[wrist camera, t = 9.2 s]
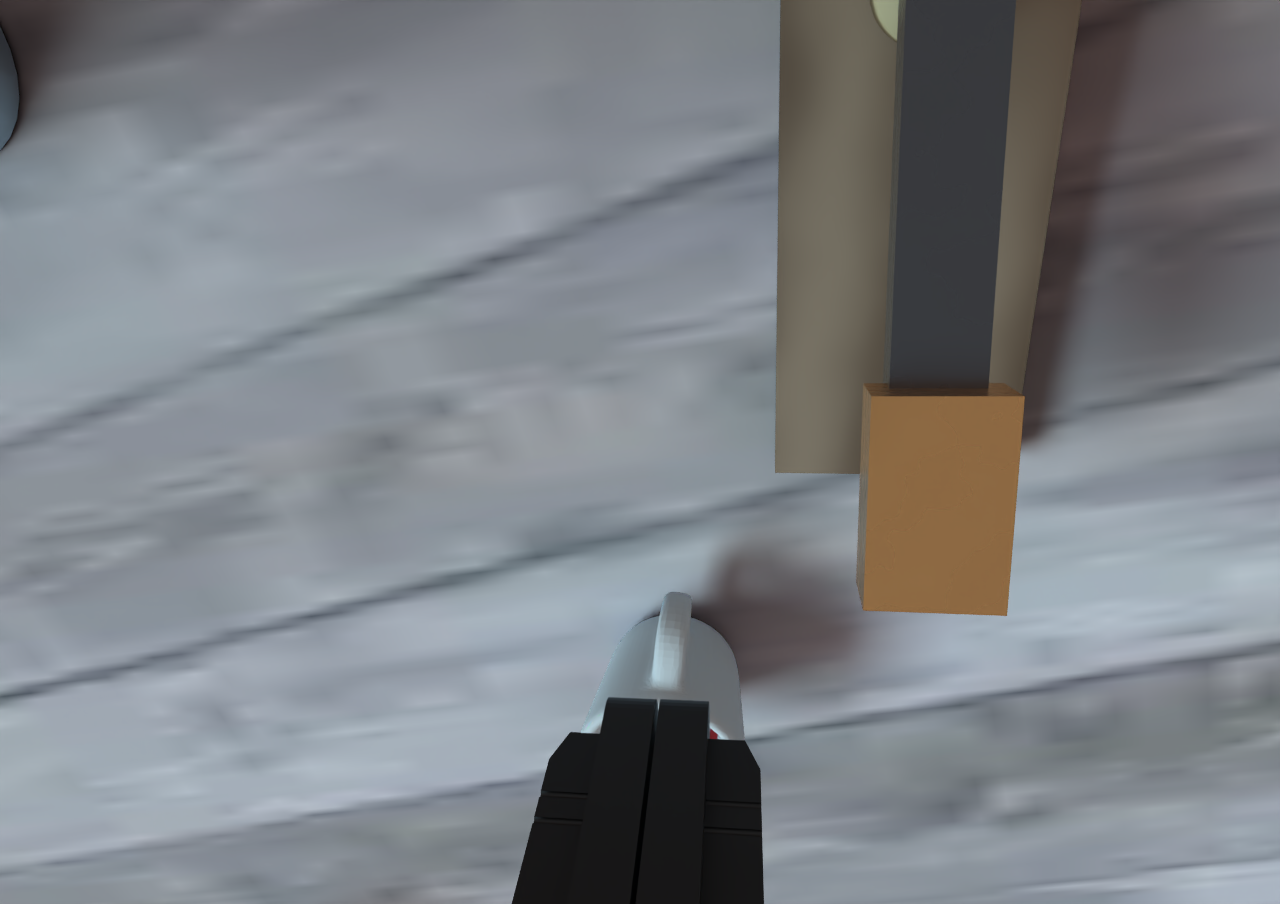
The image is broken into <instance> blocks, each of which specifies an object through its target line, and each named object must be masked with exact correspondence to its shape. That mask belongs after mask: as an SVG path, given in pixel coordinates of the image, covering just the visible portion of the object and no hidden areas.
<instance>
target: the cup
mask: <svg viewBox="0 0 1280 904" xmlns="http://www.w3.org/2000/svg"><path fill="white" fill-rule="evenodd" d="M691 609H692V599H691V597H690V596H689V595H688V594H686V593H680V592H670V593H668V594H666V596H665V597H664V600H663V603H662V607H661V612H660V616H656V617H653V618H650V619H647V620H644V621H643V622H641V623H639V624H637V625H636V626H634V627H633V628H632V629H631V630H630V631H628V632H627V633H626V635H625V636H624V637H623V638H622V640H621V641H620V643H619V644H618V646H617V648H616V650H615V652H614V654H613V656H612V658H611V660H610V663H609V665H608V668H607V670H606V672H605V675H604V677H603V680H602V682H601V684H600V687H599V689H598V692H597V694H596V696H595V699H594V701H593V704H592V706H591V708H590V711H589V713H588V716H587V718H586V720H585V723H584V725H583V728H582V730H581V733H597V734H600V730H601V725H602V720H603V715H604V710H605V705H606V701H607V699H608V697H619V698H641V699H657V702H658V710H659V703H660V700H661V699H670V700H693V701H709V706H710V739H726V740H745V737H744V726H743V715H742V704H741V693H740V682H739V674H738V668H737V663H736V660H735V657H734V654H733V652H732V650H731V648H730V646H729V645H728V643H727V642H726V640H725V639H724V638H723V637H722V636H721V635H720V634H719V633H718V632H717V631H716V630H715V629H713V628H712V627H711V626H709V625H707V624H705V623H704V622H702V621H699V620H697V619H694V618H691Z"/></svg>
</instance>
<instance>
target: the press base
mask: <svg viewBox="0 0 1280 904" xmlns="http://www.w3.org/2000/svg"><path fill="white" fill-rule="evenodd" d="M898 4H899V0H781V8H780V93H779V177H778V262H777V346H776V430H775V473H838V474H860V462H861V434H862V406H863V383H883V368H884V343H885V319H886V295H887V271H888V246H889V222H890V198H891V174H892V149H893V125H894V101H895V76H896V52H897V28H898ZM1081 4H1082V0H1016V10H1015V24H1014V38H1013V52H1012V66H1011V80H1010V94H1009V108H1008V122H1007V136H1006V150H1005V164H1004V178H1003V192H1002V206H1001V220H1000V234H999V248H998V262H997V276H996V290H995V304H994V318H993V332H992V346H991V360H990V374H989V383H1005V384H1006V385H1008V386H1009V387H1011V388H1012V389H1014V390H1016V391H1017V392H1019V393H1020V394H1022V391H1023V385H1024V378H1025V372H1026V365H1027V359H1028V352H1029V345H1030V339H1031V332H1032V326H1033V319H1034V313H1035V306H1036V299H1037V293H1038V286H1039V280H1040V273H1041V267H1042V260H1043V253H1044V247H1045V240H1046V234H1047V227H1048V221H1049V214H1050V207H1051V201H1052V194H1053V188H1054V181H1055V175H1056V168H1057V161H1058V155H1059V148H1060V142H1061V135H1062V129H1063V122H1064V115H1065V109H1066V102H1067V96H1068V89H1069V83H1070V76H1071V69H1072V63H1073V56H1074V50H1075V43H1076V37H1077V30H1078V23H1079V17H1080V10H1081Z"/></svg>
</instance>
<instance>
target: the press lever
mask: <svg viewBox="0 0 1280 904" xmlns="http://www.w3.org/2000/svg"><path fill="white" fill-rule="evenodd" d="M1015 10H1016V0H899V4H898V28H897V52H896V76H895V101H894V125H893V149H892V174H891V198H890V222H889V246H888V271H887V295H886V319H885V343H884V368H883V383H863V406H862V434H861V462H860V490H859V518H858V546H857V574H856V583H857V587H858V591H859V595H860V599H861V604H862V608H863V610H865V611H892V612H919V613H946V614H973V615H1000V616H1007V608H1008V596H1009V584H1010V572H1011V560H1012V547H1013V535H1014V523H1015V511H1016V499H1017V486H1018V474H1019V462H1020V450H1021V437H1022V425H1023V413H1024V401H1025V396H1023V395H1022V394H1020V393H1019V392H1017V391H1016V390H1014V389H1012V388H1011V387H1009V386H1008V385H1006V384H1005V383H989V374H990V360H991V346H992V332H993V318H994V304H995V290H996V276H997V262H998V248H999V234H1000V220H1001V206H1002V192H1003V178H1004V164H1005V150H1006V136H1007V122H1008V108H1009V94H1010V80H1011V66H1012V52H1013V38H1014V24H1015Z"/></svg>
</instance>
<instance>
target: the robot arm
mask: <svg viewBox="0 0 1280 904" xmlns="http://www.w3.org/2000/svg"><path fill="white" fill-rule="evenodd" d="M18 105H19V89H18V79H17V72H16V69H15V65H14V61H13V57H12V54H11V50H10V48H9V45H8V43H7V41H6V39H5V36H4V34H3V32H2V30H1V27H0V150H1V149H2V147H3V146H4V145H5V143H6V142H7V141H8V139H9V138H10V137H11V134H12V131H13V128H14V126H15V123H16V120H17V114H18ZM512 904H764V891H763V853H762V815H761V777H760V768H759V766H758V764H757V763H756V761H755V759H754V757H753V755H752V753H751V751H750V749H749V747H748V746H747V744H746V742H745V740H726V739H710V706H709V701H693V700H670V699H661V700H660V703H659V710H658V702H657V699H641V698H619V697H608V699H607V701H606V705H605V710H604V715H603V720H602V725H601V730H600V734H597V733H577V732H570V733H569V735H568V736H567V737H566V738H565V740H564V741H563V742H562V743H561V745H560V746H559V747H558V748H557V750H556V751H555V752H554V754H553V755H552V756H551V757H550V759H549V762H548V766H547V770H546V773H545V777H544V781H543V785H542V789H541V797H539V800H538V804H537V808H536V812H535V816H534V823H533V824H532V828H531V831H530V835H529V839H528V843H527V847H526V851H525V855H524V859H523V862H522V866H521V870H520V874H519V878H518V882H517V886H516V889H515V893H514V897H513V901H512Z"/></svg>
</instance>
